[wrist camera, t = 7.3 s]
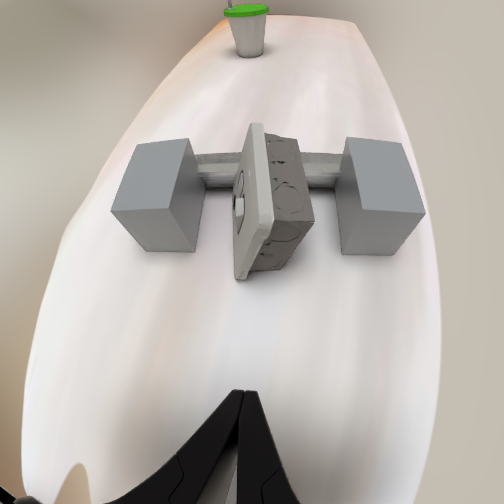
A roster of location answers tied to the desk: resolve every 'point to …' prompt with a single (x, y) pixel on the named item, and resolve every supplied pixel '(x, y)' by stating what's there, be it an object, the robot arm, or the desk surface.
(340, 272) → the desk surface
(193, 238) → the mounted modules
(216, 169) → the rail
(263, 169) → the electrical switch
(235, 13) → the cup
